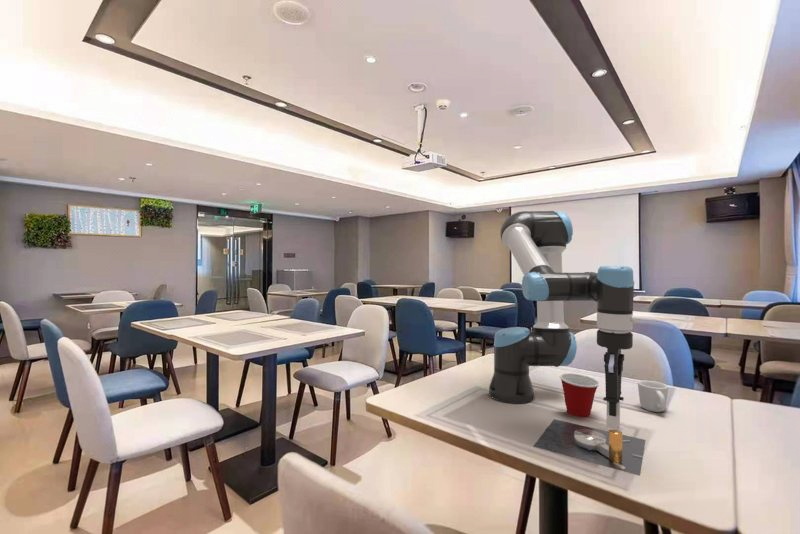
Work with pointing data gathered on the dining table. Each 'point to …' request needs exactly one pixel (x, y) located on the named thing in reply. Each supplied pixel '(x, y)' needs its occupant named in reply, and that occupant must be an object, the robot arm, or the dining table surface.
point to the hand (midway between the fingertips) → (613, 427)
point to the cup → (652, 395)
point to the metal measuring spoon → (601, 442)
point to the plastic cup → (578, 393)
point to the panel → (562, 442)
